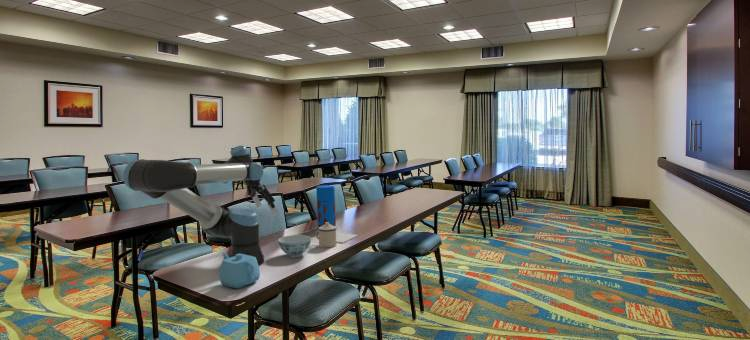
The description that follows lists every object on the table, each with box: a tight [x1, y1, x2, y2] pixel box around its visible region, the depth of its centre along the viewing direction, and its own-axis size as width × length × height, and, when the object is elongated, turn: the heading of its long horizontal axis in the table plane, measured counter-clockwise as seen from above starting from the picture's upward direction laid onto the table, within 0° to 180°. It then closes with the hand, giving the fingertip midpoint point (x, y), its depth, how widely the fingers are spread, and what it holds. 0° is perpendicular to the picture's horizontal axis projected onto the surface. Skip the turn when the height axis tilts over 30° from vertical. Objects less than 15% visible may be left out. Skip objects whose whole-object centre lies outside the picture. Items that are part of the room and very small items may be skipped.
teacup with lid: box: [314, 222, 337, 249], centre depth 208 cm, size 12×9×12 cm
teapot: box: [219, 252, 261, 289], centre depth 157 cm, size 12×18×12 cm
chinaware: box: [277, 234, 312, 258], centre depth 191 cm, size 15×15×8 cm
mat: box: [336, 232, 359, 244], centre depth 221 cm, size 16×14×1 cm
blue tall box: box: [315, 184, 337, 229], centre depth 244 cm, size 11×11×25 cm
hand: (267, 209), depth 211 cm, fingers open, 13 cm apart
